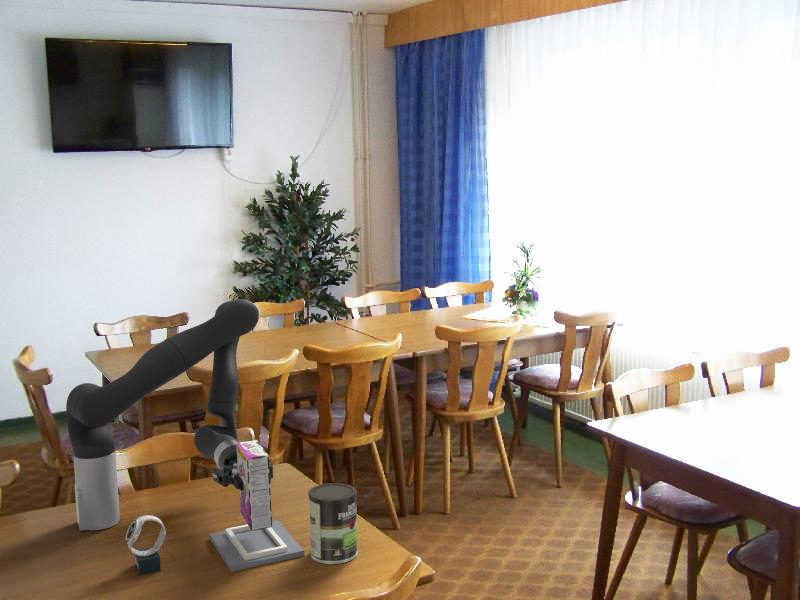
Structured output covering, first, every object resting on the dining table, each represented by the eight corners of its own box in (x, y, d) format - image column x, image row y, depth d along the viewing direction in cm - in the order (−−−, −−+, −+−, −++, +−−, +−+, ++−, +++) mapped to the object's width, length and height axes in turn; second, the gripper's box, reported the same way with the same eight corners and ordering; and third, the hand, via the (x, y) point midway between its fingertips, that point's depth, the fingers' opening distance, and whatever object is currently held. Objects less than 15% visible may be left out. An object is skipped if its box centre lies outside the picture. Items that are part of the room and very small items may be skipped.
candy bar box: (238, 512, 188) (235, 442, 185) (260, 508, 190) (257, 438, 187) (250, 532, 178) (246, 458, 175) (273, 527, 179) (270, 454, 177)
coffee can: (367, 550, 182) (366, 487, 180) (339, 569, 174) (337, 503, 172) (329, 539, 188) (327, 479, 186) (300, 557, 179) (298, 494, 177)
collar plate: (231, 571, 173) (230, 561, 172) (209, 538, 189) (209, 529, 188) (304, 555, 180) (304, 545, 179) (277, 525, 196) (277, 516, 195)
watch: (125, 566, 176) (122, 516, 174) (164, 558, 179) (161, 509, 178) (129, 577, 171) (126, 526, 169) (169, 569, 174) (166, 518, 173)
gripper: (202, 449, 193) (221, 473, 178) (262, 439, 199) (286, 461, 184) (204, 480, 194) (223, 506, 179) (263, 469, 200) (287, 494, 185)
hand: (254, 483), depth 182 cm, fingers closed on candy bar box, 5 cm apart
